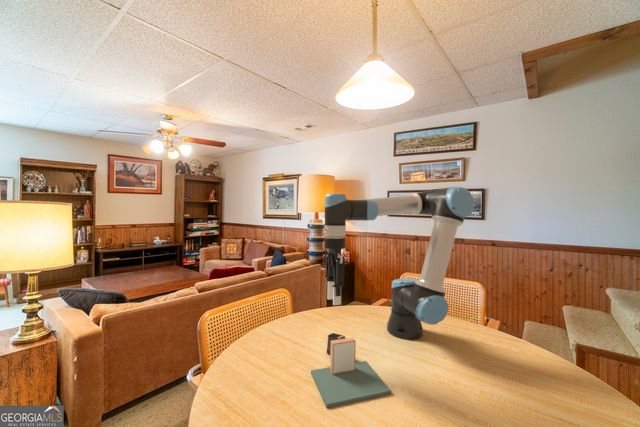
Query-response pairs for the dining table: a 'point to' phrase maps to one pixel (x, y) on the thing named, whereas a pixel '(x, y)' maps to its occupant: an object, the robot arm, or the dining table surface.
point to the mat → (349, 385)
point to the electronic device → (333, 337)
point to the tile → (342, 355)
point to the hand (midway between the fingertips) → (334, 301)
